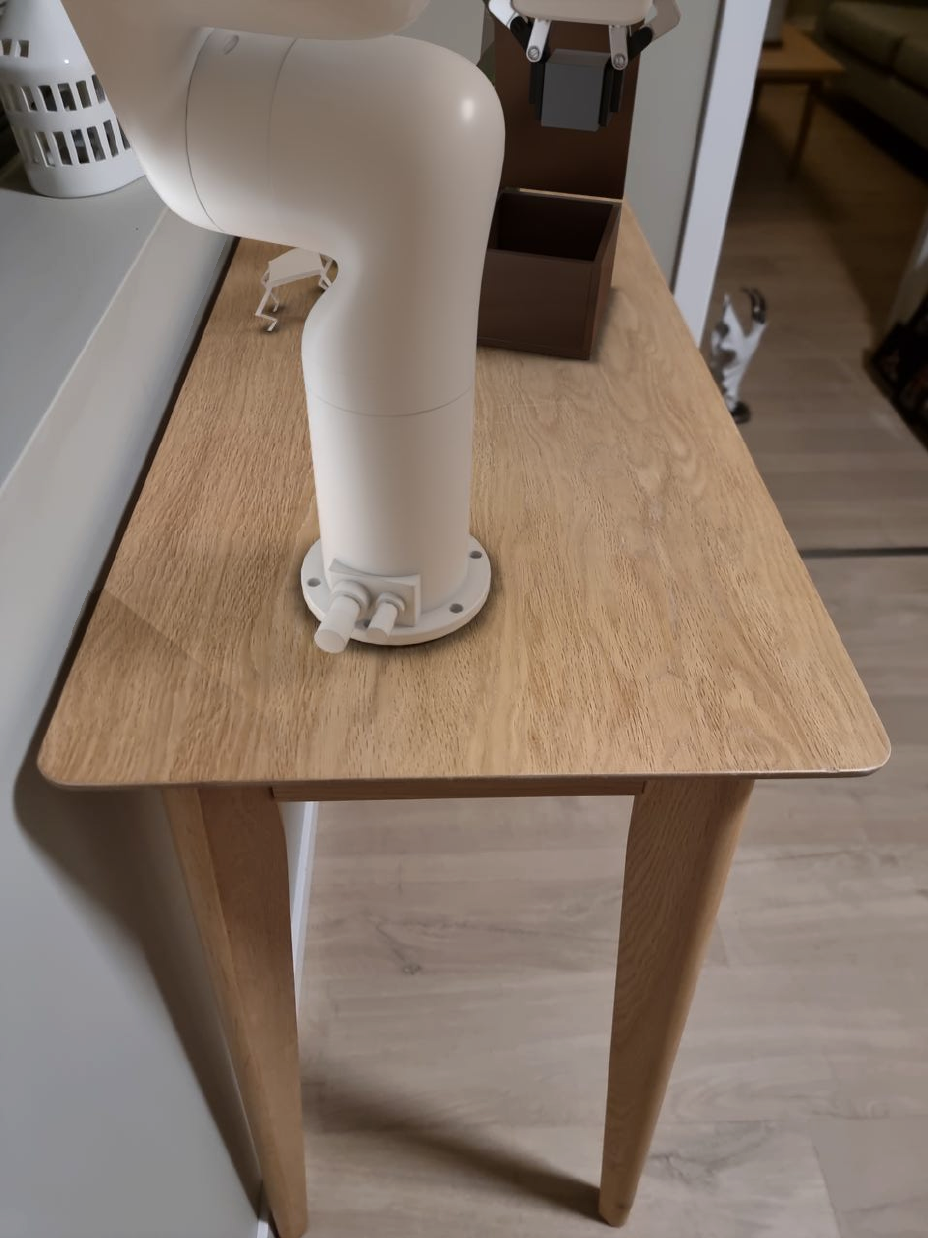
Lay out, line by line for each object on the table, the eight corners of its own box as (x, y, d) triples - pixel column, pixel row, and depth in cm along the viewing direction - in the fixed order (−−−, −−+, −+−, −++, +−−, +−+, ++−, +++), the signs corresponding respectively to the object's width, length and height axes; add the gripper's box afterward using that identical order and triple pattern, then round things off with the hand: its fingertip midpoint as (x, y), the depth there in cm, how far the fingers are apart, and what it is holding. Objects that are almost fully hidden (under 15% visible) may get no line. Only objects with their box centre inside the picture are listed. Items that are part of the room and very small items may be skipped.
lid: (644, 18, 75) (652, -13, 78) (493, 6, 77) (506, -24, 80) (622, 199, 89) (630, 168, 92) (495, 185, 91) (506, 155, 94)
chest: (589, 360, 85) (601, 265, 79) (456, 341, 87) (458, 248, 81) (610, 289, 96) (622, 202, 90) (492, 274, 98) (496, 187, 92)
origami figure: (340, 338, 87) (336, 287, 83) (252, 333, 87) (245, 282, 83) (359, 284, 95) (356, 236, 92) (279, 279, 96) (273, 231, 92)
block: (596, 131, 72) (603, 67, 69) (540, 125, 72) (545, 62, 69) (604, 115, 75) (611, 53, 72) (551, 109, 75) (555, 47, 72)
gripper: (464, -188, 59) (458, 121, 72) (729, -175, 57) (675, 144, 69) (490, -195, 65) (481, 95, 77) (734, -183, 62) (683, 115, 75)
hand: (573, 115), depth 73 cm, fingers closed on block, 4 cm apart
